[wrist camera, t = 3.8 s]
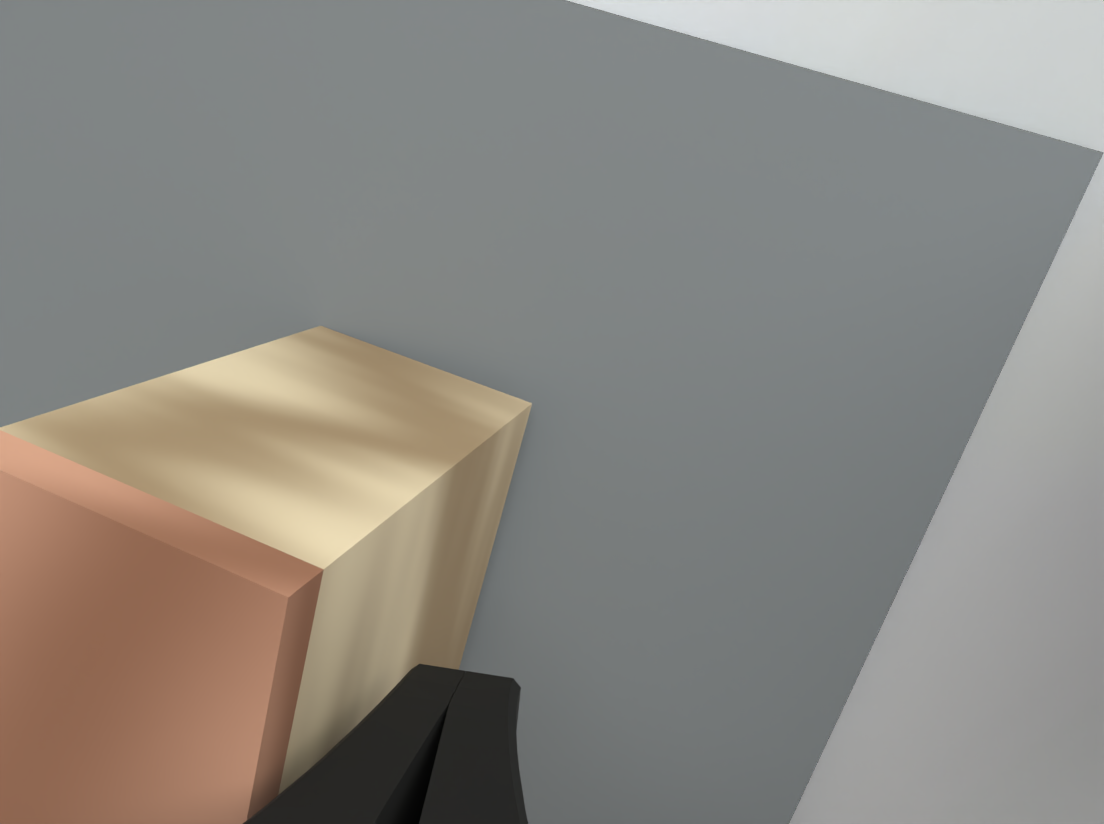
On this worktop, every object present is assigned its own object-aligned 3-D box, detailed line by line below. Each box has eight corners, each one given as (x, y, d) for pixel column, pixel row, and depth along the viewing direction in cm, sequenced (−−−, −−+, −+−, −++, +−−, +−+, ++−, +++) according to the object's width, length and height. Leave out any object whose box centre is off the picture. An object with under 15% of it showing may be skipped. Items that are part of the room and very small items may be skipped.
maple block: (532, 403, 14) (288, 598, 8) (451, 694, 16) (205, 1035, 10) (320, 325, 15) (-55, 445, 9) (269, 612, 17) (-68, 879, 11)
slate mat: (1094, 151, 13) (1104, 152, 13) (741, 911, 19) (741, 923, 18) (-159, -203, 14) (-176, -210, 13) (-147, 637, 19) (-159, 645, 19)
